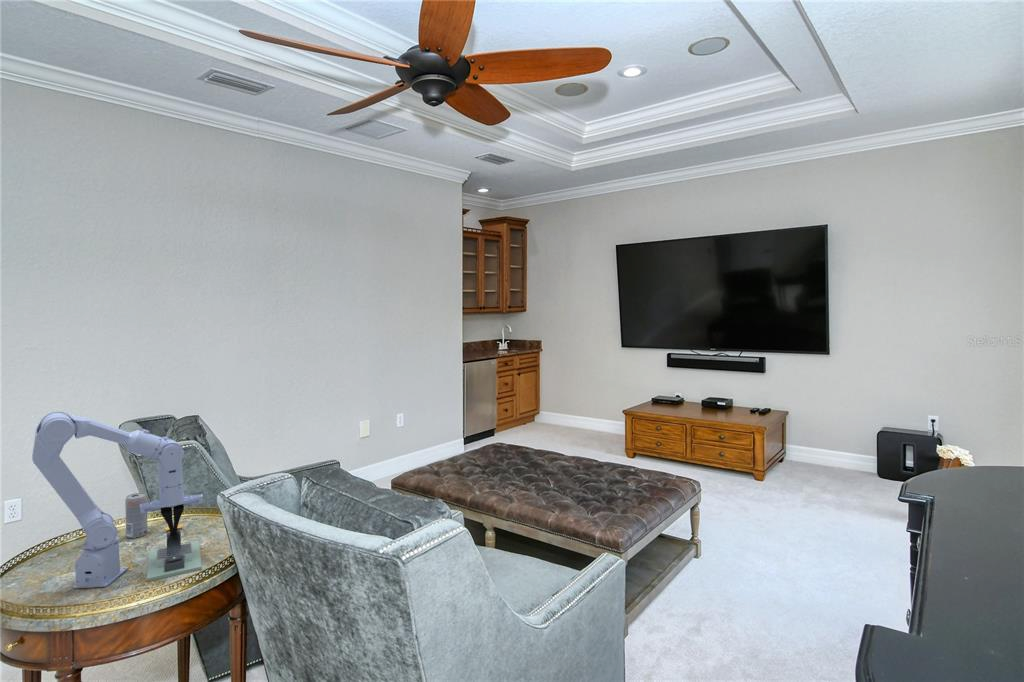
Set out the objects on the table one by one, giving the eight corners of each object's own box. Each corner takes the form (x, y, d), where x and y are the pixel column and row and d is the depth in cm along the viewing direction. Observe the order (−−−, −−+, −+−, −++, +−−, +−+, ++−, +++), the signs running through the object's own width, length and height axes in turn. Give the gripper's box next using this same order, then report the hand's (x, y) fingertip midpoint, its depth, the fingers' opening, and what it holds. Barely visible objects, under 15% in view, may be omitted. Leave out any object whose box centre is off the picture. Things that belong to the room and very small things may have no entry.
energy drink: (144, 529, 170) (144, 491, 169) (149, 534, 166) (149, 496, 166) (123, 534, 166) (123, 495, 165) (128, 540, 163) (128, 500, 162)
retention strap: (183, 559, 145) (182, 556, 144) (165, 563, 142) (164, 560, 142) (182, 527, 155) (181, 524, 154) (165, 530, 153) (165, 527, 152)
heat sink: (192, 560, 148) (191, 553, 148) (156, 568, 144) (156, 561, 144) (191, 549, 155) (191, 542, 155) (157, 556, 151) (157, 549, 151)
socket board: (201, 569, 145) (200, 551, 145) (146, 581, 139) (145, 563, 138) (199, 543, 160) (198, 527, 160) (150, 553, 154) (149, 536, 154)
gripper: (201, 475, 157) (203, 522, 158) (140, 484, 150) (142, 533, 151) (202, 482, 151) (204, 530, 152) (138, 492, 144) (141, 543, 145)
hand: (173, 532), depth 151 cm, fingers closed, pressing on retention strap
